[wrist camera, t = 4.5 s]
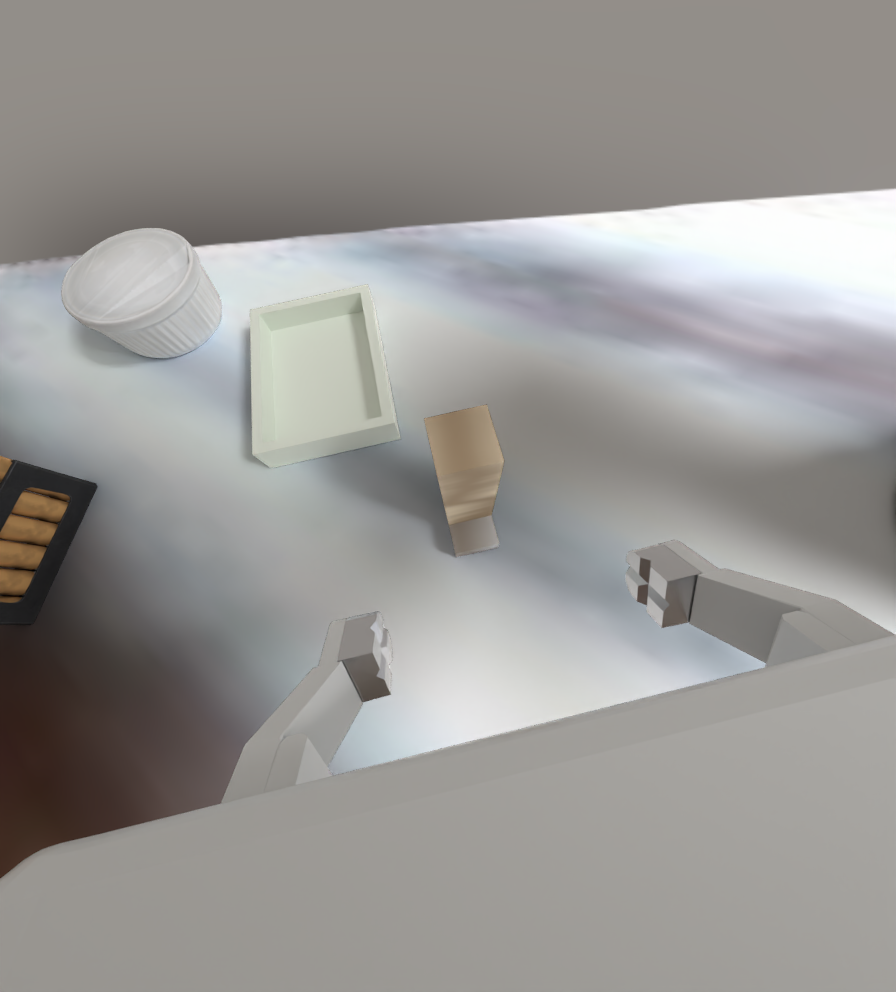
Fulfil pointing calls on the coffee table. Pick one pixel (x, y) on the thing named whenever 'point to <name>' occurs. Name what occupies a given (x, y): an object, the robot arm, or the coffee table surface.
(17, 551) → the ammunition clip
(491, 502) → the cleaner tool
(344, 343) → the tray
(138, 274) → the ramekin
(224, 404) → the coffee table surface
